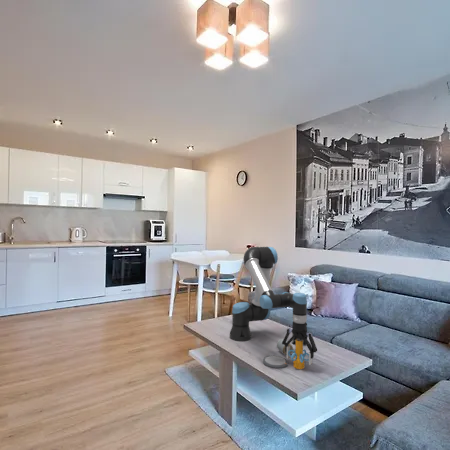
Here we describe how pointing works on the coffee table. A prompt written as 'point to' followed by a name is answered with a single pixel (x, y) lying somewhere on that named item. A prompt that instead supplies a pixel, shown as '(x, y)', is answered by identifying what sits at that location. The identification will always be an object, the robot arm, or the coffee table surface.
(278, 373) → the coffee table surface
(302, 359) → the cylinder
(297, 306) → the robot arm
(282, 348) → the ceramic mug
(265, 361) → the plate
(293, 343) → the scope
